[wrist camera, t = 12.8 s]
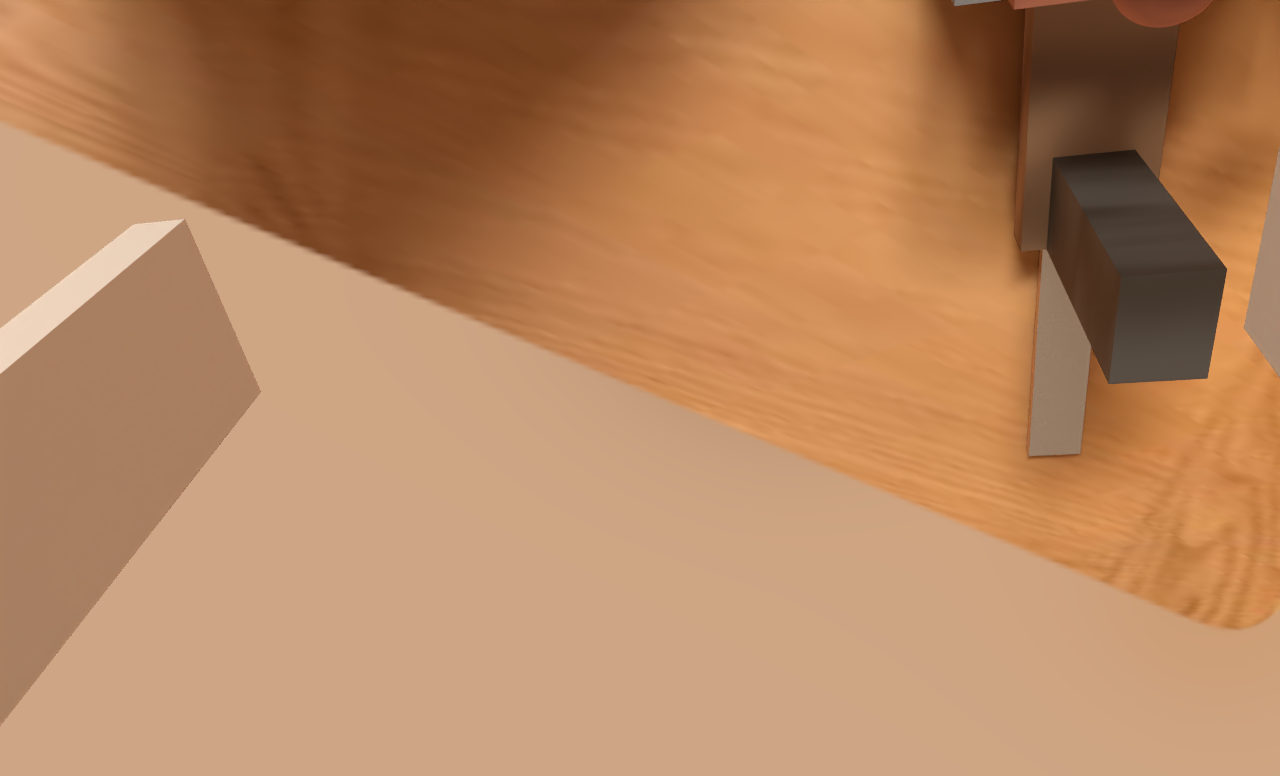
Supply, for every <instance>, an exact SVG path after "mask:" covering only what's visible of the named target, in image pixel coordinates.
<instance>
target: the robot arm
mask: <svg viewBox="0 0 1280 776" xmlns="http://www.w3.org/2000/svg"><path fill="white" fill-rule="evenodd" d="M1244 329H1245V330H1246V332H1247V333H1248V334H1249V336H1250V337H1251V339H1252V340H1253V341H1254V343H1255V344H1256V346H1257V347H1258V348H1259V350H1260V351H1261V352H1262V354H1263V355H1264V357H1265V358H1266V359H1267V361H1268V362H1269V364H1270V365H1271V366H1272V368H1273V369H1274V370H1275V372H1276V373H1277V375H1278V376H1279V377H1280V147H1279V152H1278V157H1277V163H1276V168H1275V173H1274V178H1273V183H1272V188H1271V193H1270V198H1269V203H1268V208H1267V213H1266V218H1265V223H1264V228H1263V233H1262V238H1261V244H1260V249H1259V254H1258V259H1257V264H1256V269H1255V274H1254V279H1253V284H1252V289H1251V294H1250V299H1249V304H1248V309H1247V314H1246V319H1245V325H1244ZM260 392H261V391H260V389H259V387H258V385H257V382H256V380H255V378H254V376H253V373H252V372H251V369H250V366H249V364H248V362H247V360H246V357H245V355H244V353H243V351H242V348H241V346H240V344H239V341H238V339H237V337H236V334H235V332H234V330H233V328H232V325H231V323H230V321H229V319H228V316H227V314H226V312H225V310H224V307H223V305H222V303H221V300H220V298H219V296H218V294H217V291H216V289H215V287H214V284H213V282H212V280H211V278H210V275H209V273H208V271H207V268H206V266H205V264H204V262H203V259H202V257H201V255H200V253H199V250H198V248H197V246H196V244H195V241H194V239H193V237H192V234H191V232H190V230H189V228H188V225H187V223H186V221H185V219H180V220H170V221H160V222H151V223H141V224H133V225H132V226H131V227H129V228H128V229H127V230H126V231H124V232H123V233H122V234H120V235H119V236H118V237H117V238H115V239H114V240H113V241H111V242H110V243H109V244H108V245H106V246H105V247H104V248H103V249H101V250H100V251H99V252H97V253H96V254H95V255H94V256H92V257H91V258H90V259H88V260H87V261H86V262H85V263H83V264H82V265H81V266H80V267H78V268H77V269H76V270H74V271H73V272H72V273H71V274H69V275H68V276H67V277H65V278H64V279H63V280H62V281H61V282H59V283H58V284H57V285H55V286H54V287H53V288H51V289H50V290H49V291H48V292H46V293H45V294H44V295H42V296H41V297H40V298H39V299H37V300H36V301H35V302H33V303H32V304H31V305H30V306H29V307H27V308H26V309H25V310H23V311H22V312H21V313H20V314H18V315H17V316H16V317H14V318H13V319H12V320H11V321H9V322H8V323H7V324H5V325H4V326H3V327H2V328H0V726H1V724H2V723H3V722H4V721H5V719H6V718H7V717H8V715H9V714H10V713H11V712H12V710H13V709H14V708H15V706H16V705H17V704H18V703H19V701H20V700H21V699H22V697H23V696H24V695H25V694H26V692H27V691H28V690H29V689H30V687H31V686H32V685H33V683H34V682H35V681H36V680H37V678H38V677H39V676H40V674H41V673H42V672H43V671H44V669H45V668H46V667H47V665H48V664H49V663H50V662H51V660H52V659H53V658H54V656H55V655H56V654H57V653H58V651H59V650H60V649H61V647H62V646H63V645H64V644H65V642H66V641H67V640H68V639H69V637H70V636H71V635H72V633H73V632H74V631H75V629H76V628H77V627H78V626H79V624H80V623H81V622H82V621H83V619H84V618H85V616H86V615H87V614H88V613H89V612H90V610H91V609H92V608H93V606H94V605H95V604H96V603H97V601H98V600H99V599H100V597H101V596H102V595H103V594H104V592H105V591H106V590H107V588H108V587H109V586H110V585H111V583H112V582H113V580H115V578H116V577H117V576H118V574H119V573H120V572H121V571H122V569H123V568H124V567H125V565H126V564H127V563H128V562H129V560H130V559H131V558H132V556H133V555H134V554H135V553H136V551H137V550H138V549H139V547H140V546H141V545H142V544H143V542H144V541H145V540H146V538H147V537H148V536H149V535H150V533H151V532H152V531H153V529H154V528H155V527H156V525H157V524H158V523H159V522H160V520H161V519H162V518H163V517H164V515H165V514H166V513H167V512H168V510H169V509H170V508H171V506H172V505H173V504H174V502H175V501H176V500H177V499H178V497H179V496H180V495H181V493H182V492H183V491H184V490H185V488H186V487H187V486H188V485H189V483H190V482H191V481H192V479H193V478H194V477H195V476H196V474H197V473H198V472H199V471H200V469H201V468H202V467H203V465H204V464H205V463H206V462H207V460H208V459H209V458H210V456H211V455H212V454H213V453H214V451H215V450H216V449H217V447H218V446H219V445H220V444H221V442H222V441H223V440H224V438H225V437H226V436H227V435H228V433H229V432H230V431H231V429H232V428H233V427H234V425H235V424H236V423H237V422H238V420H239V419H240V418H241V416H242V415H243V414H244V413H245V411H246V410H247V409H248V408H249V406H250V405H251V404H252V403H253V401H254V400H255V399H256V397H257V396H258V395H259V394H260Z"/></svg>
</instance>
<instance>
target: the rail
mask: <svg viewBox="0 0 1280 776" xmlns="http://www.w3.org/2000/svg"><path fill="white" fill-rule="evenodd" d="M1090 355H1091V345H1090V343H1089V340H1088V338H1087V336H1086V334H1085V332H1084V330H1083V327H1082V325H1081V323H1080V321H1079V319H1078V317H1077V314H1076V312H1075V310H1074V308H1073V306H1072V304H1071V301H1070V299H1069V297H1068V295H1067V293H1066V291H1065V289H1064V286H1063V284H1062V282H1061V280H1060V278H1059V276H1058V273H1057V271H1056V269H1055V267H1054V265H1053V263H1052V260H1051V258H1050V256H1049V254H1048V252H1047V250H1040V252H1039V267H1038V282H1037V297H1036V312H1035V328H1034V343H1033V358H1032V373H1031V388H1030V404H1029V419H1028V434H1027V452H1028V455H1029V456H1043V455H1065V454H1080V452H1081V442H1082V433H1083V423H1084V413H1085V403H1086V394H1087V384H1088V374H1089V364H1090Z"/></svg>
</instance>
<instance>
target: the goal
mask: <svg viewBox="0 0 1280 776" xmlns="http://www.w3.org/2000/svg"><path fill="white" fill-rule="evenodd" d="M951 1H952V2H953V4H954V6H960V5H967V4H975V3H983V2H991V1H999V0H951Z"/></svg>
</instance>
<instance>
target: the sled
mask: <svg viewBox="0 0 1280 776" xmlns="http://www.w3.org/2000/svg"><path fill="white" fill-rule="evenodd" d="M1213 1H1214V0H1008V2H1009V3H1010V5H1011V6H1012V7H1013V9H1014V10H1015V9H1023V8H1025V27H1024V47H1023V67H1022V87H1021V107H1020V127H1019V147H1018V167H1017V187H1016V207H1015V227H1014V236H1015V238H1016V241H1017V243H1018V246H1019V248H1020V250H1021V252H1023V251H1035V250H1047V252H1048V254H1049V256H1050V258H1051V260H1052V263H1053V265H1054V267H1055V269H1056V271H1057V273H1058V276H1059V278H1060V280H1061V282H1062V284H1063V286H1064V289H1065V291H1066V293H1067V295H1068V297H1069V299H1070V301H1071V304H1072V306H1073V308H1074V310H1075V312H1076V314H1077V317H1078V319H1079V321H1080V323H1081V325H1082V327H1083V330H1084V332H1085V334H1086V336H1087V338H1088V340H1089V343H1090V345H1091V347H1092V349H1093V351H1094V353H1095V355H1096V358H1097V360H1098V362H1099V364H1100V366H1101V368H1102V371H1103V373H1104V375H1105V377H1106V379H1107V381H1108V384H1119V383H1136V382H1154V381H1172V380H1189V379H1207V378H1208V372H1209V366H1210V361H1211V355H1212V350H1213V344H1214V339H1215V333H1216V328H1217V322H1218V317H1219V311H1220V306H1221V300H1222V294H1223V289H1224V283H1225V278H1226V272H1227V268H1226V267H1225V266H1224V264H1223V263H1222V262H1221V260H1220V259H1219V258H1218V256H1217V255H1216V254H1215V253H1214V251H1213V250H1212V249H1211V247H1210V246H1209V245H1208V243H1207V242H1206V241H1205V240H1204V238H1203V237H1202V236H1201V234H1200V233H1199V232H1198V230H1197V229H1196V228H1195V227H1194V225H1193V224H1192V223H1191V221H1190V220H1189V219H1188V217H1187V216H1186V215H1185V214H1184V212H1183V211H1182V210H1181V208H1180V207H1179V206H1178V204H1177V203H1176V202H1175V201H1174V199H1173V198H1172V197H1171V195H1170V194H1169V193H1168V191H1167V190H1166V189H1165V187H1164V186H1163V185H1162V184H1161V182H1160V181H1159V175H1160V167H1161V160H1162V152H1163V145H1164V137H1165V130H1166V122H1167V114H1168V107H1169V99H1170V92H1171V84H1172V76H1173V69H1174V61H1175V54H1176V46H1177V38H1178V31H1179V24H1181V23H1183V22H1186V21H1188V20H1190V19H1192V18H1193V17H1195V16H1197V15H1198V14H1200V13H1201V12H1202V11H1203V10H1205V9H1206V8H1207V7H1208V6H1209V5H1210V4H1211V3H1212V2H1213Z"/></svg>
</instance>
